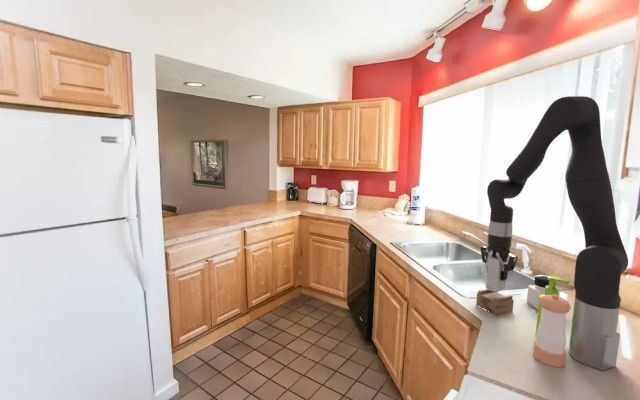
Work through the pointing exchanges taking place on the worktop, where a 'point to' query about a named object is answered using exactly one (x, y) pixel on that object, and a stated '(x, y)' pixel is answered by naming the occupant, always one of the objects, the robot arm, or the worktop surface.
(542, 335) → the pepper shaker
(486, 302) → the display pedestal
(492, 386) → the worktop surface
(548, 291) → the soap dispenser
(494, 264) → the skincare box
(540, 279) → the medicine bottle
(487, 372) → the worktop surface
